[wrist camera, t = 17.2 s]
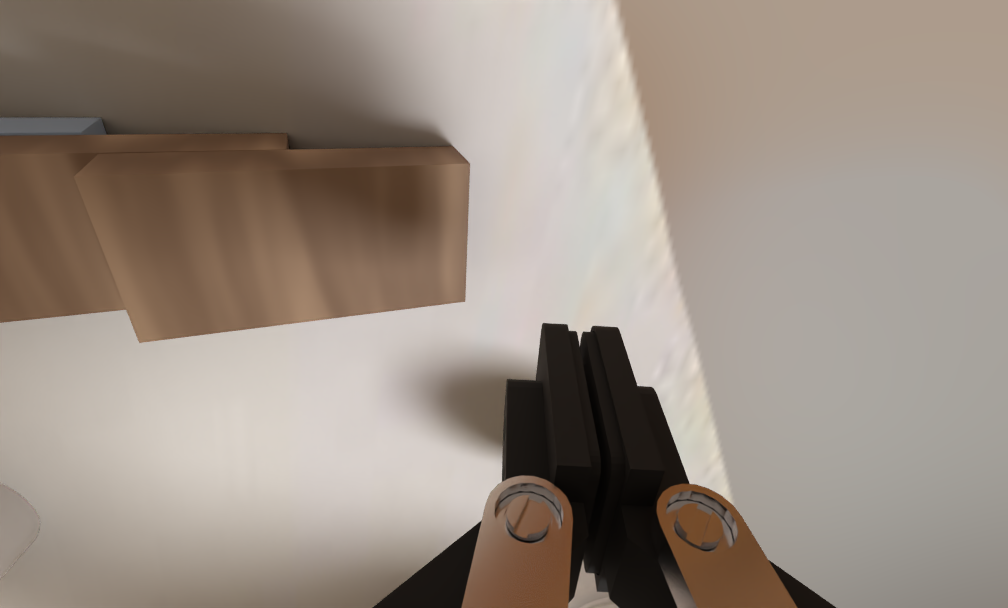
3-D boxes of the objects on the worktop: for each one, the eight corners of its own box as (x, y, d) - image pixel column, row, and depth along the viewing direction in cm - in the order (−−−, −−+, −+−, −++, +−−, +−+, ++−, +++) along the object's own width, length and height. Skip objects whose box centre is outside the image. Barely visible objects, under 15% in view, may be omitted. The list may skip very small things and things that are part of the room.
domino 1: (285, 149, 15) (-163, 157, 12) (308, 290, 18) (-55, 328, 15) (287, 133, 17) (-111, 136, 13) (307, 265, 19) (-21, 294, 16)
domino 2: (469, 163, 15) (73, 176, 12) (464, 301, 18) (139, 342, 15) (453, 146, 17) (98, 153, 14) (450, 275, 19) (153, 307, 16)
